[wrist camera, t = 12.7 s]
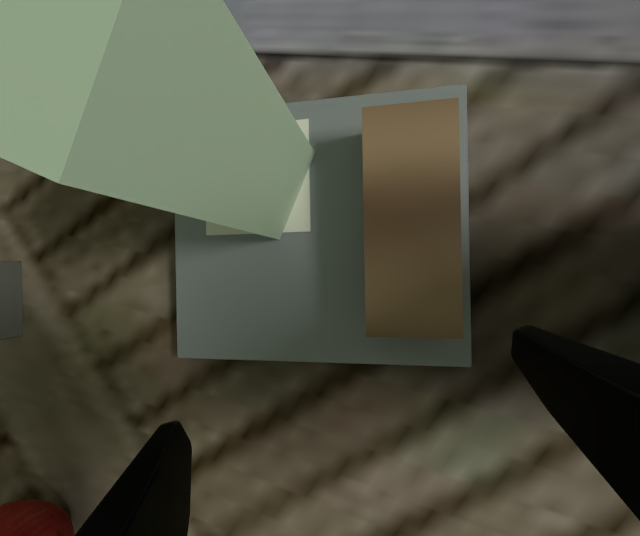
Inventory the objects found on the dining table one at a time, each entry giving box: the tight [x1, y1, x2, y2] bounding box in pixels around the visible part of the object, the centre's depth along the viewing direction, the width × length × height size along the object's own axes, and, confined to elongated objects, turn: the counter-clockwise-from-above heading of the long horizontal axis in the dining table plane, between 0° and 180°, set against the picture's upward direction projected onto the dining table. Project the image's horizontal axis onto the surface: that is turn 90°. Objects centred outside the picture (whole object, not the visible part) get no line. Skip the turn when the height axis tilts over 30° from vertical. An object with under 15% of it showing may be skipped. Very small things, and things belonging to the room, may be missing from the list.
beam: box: [362, 97, 463, 339], centre depth 16 cm, size 10×4×3 cm, turn 1°
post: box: [0, 0, 315, 240], centre depth 13 cm, size 5×5×13 cm
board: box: [175, 84, 472, 367], centre depth 19 cm, size 14×16×1 cm
